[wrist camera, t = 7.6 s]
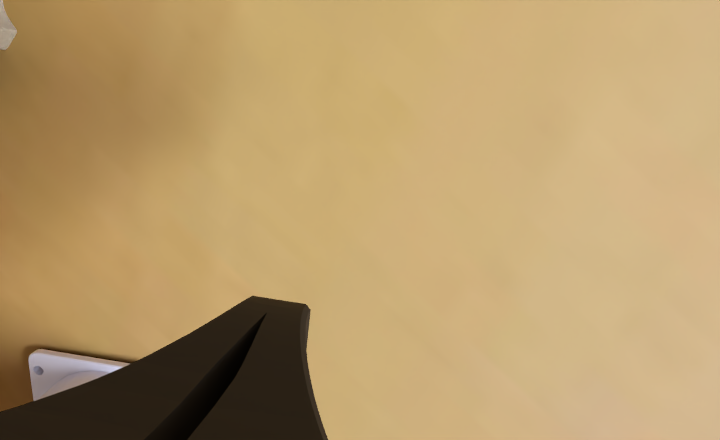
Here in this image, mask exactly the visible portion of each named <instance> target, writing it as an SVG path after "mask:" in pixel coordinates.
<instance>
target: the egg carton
mask: <svg viewBox="0 0 720 440" xmlns="http://www.w3.org/2000/svg"><path fill="white" fill-rule="evenodd" d="M16 33H17V30H16V28H15V27H14V26H13V24H12V23H11V21H10V19H9V18H8V16H7V14H6V12H5V9H4V5H3V0H0V49H2V50H6V49H7V48H8V47H9V45H10V44H11V42H12V40H13V39H14V37H15V35H16Z"/></svg>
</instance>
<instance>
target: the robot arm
mask: <svg viewBox="0 0 720 440" xmlns="http://www.w3.org/2000/svg"><path fill="white" fill-rule="evenodd" d="M309 319H310V309H309V307H308V306H307V305H306V304H301V303H294V302H288V301H282V300H275V299H269V298H263V297H256V296H251V297H250V298H248V299H246V300H244V301H243V302H241V303H239V304H238V305H236V306H234V307H233V308H231V309H230V310H228V311H226V312H225V313H223V314H222V315H220V316H218V317H217V318H215V319H213V320H212V321H210V322H208V323H207V324H205V325H203V326H202V327H200V328H198V329H196V330H195V331H193V332H191V333H190V334H188V335H186V336H184V337H182V338H180V339H178V340H177V341H175V342H173V343H171V344H169V345H167V346H165V347H163V348H161V349H160V350H158V351H156V352H154V353H152V354H150V355H148V356H146V357H144V358H142V359H140V360H138V361H136V362H134V363H131V364H130V363H124V362H118V361H112V360H105V359H99V358H93V357H87V356H81V355H75V354H69V353H63V352H57V351H51V350H45V349H37V350H35V351H34V352H32V353H31V354H30V355H29V358H28V361H29V369H30V377H31V385H32V393H33V402H30V403H27V404H24V405H21V406H18V407H15V408H12V409H8V410H5V411H2V412H0V440H328V438H327V436H326V433H325V430H324V427H323V424H322V421H321V418H320V415H319V412H318V408H317V405H316V401H315V397H314V393H313V389H312V384H311V380H310V375H309V369H308V363H307V353H306V347H307V338H308V328H309Z"/></svg>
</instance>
